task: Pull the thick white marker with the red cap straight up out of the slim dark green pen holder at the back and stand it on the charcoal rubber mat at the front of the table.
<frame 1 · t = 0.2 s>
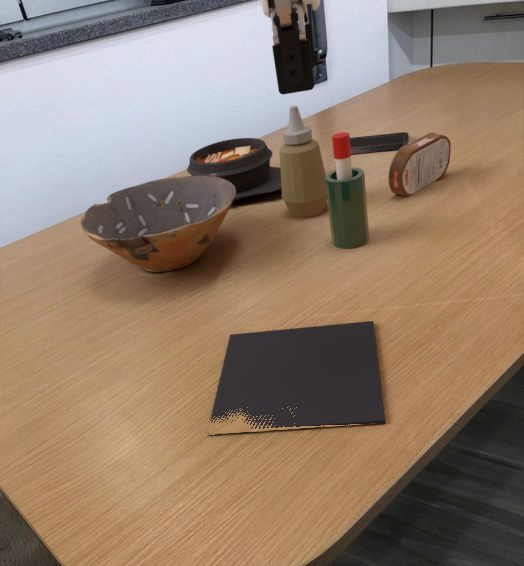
hand: (298, 79, 58), 29 cm above the table, tool pointing down, fingers open, 9 cm apart
squeeze bottle: (308, 214, 105), on the table
bowl: (174, 260, 99), on the table
pen holder: (351, 243, 92), on the table
mat: (298, 375, 68), on the table
phone: (372, 146, 129), on the table
tin: (421, 189, 106), on the table
marker: (350, 240, 92), point 1 cm above the table, touching pen holder
casserole: (236, 192, 121), on the table
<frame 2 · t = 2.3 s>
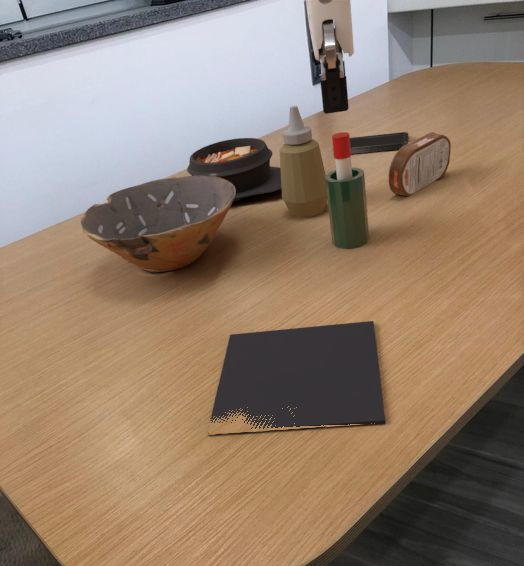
hand: (335, 102, 81), 21 cm above the table, tool pointing down, fingers open, 9 cm apart
nothing on the table moved.
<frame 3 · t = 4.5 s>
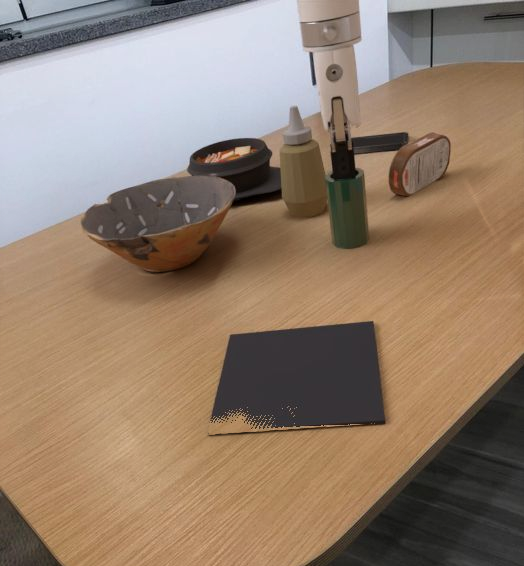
hand: (344, 173, 86), 11 cm above the table, tool pointing down, fingers closed on marker, 2 cm apart
marker: (350, 240, 92), point 1 cm above the table, touching gripper
everything else where it was.
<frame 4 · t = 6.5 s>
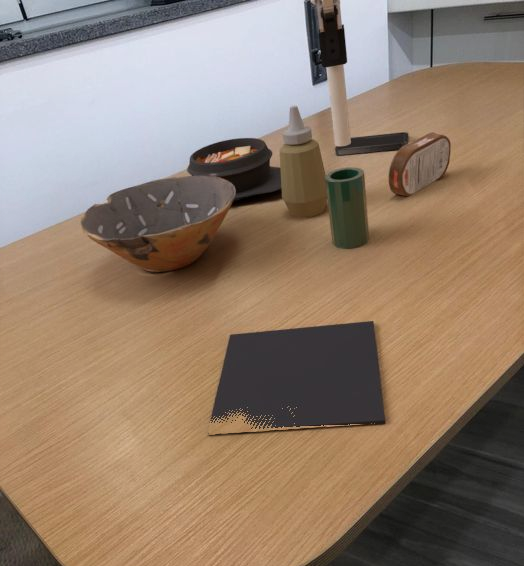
hand: (334, 61, 77), 26 cm above the table, tool pointing down, fingers closed on marker, 2 cm apart
marker: (343, 143, 83), point 15 cm above the table, touching gripper
everything else where it was.
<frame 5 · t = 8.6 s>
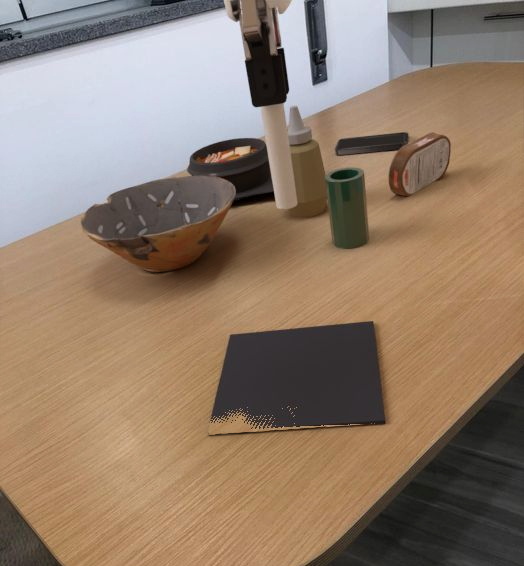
hand: (271, 98, 56), 28 cm above the table, tool pointing down, fingers closed on marker, 2 cm apart
marker: (287, 205, 62), point 18 cm above the table, touching gripper
everything else where it was.
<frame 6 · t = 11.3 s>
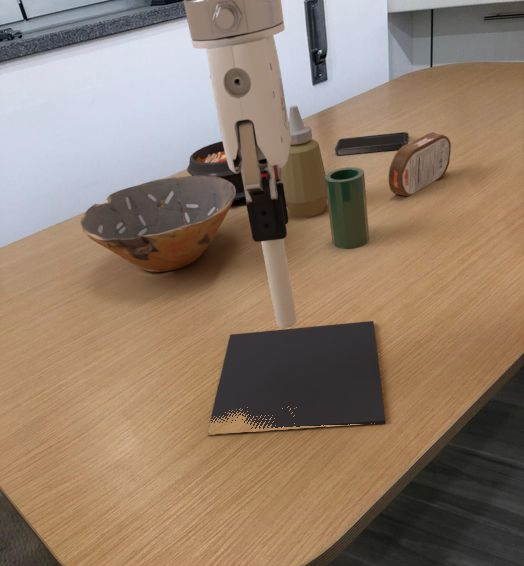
hand: (271, 230, 58), 18 cm above the table, tool pointing down, fingers closed on marker, 2 cm apart
marker: (286, 322, 64), point 7 cm above the table, touching gripper
everything else where it was.
when the fingers open (11 cm above the table, at t = 13.0 s): marker stays where it is, resting on mat.
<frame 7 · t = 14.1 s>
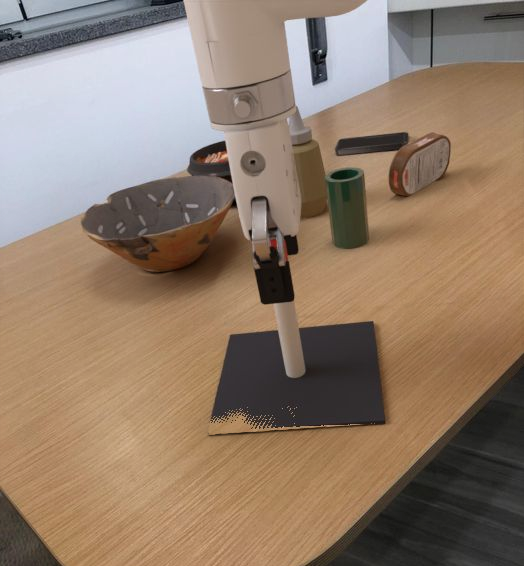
hand: (281, 276, 61), 13 cm above the table, tool pointing down, fingers open, 9 cm apart
marker: (295, 372, 67), resting on mat
everything else where it was.
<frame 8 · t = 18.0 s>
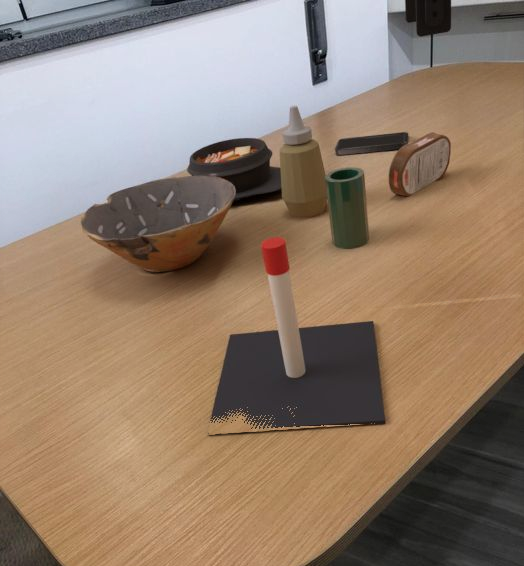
hand: (426, 26, 62), 30 cm above the table, tool pointing down, fingers open, 9 cm apart
nothing on the table moved.
at the end: marker inside the target area on the mat (0.2 cm from its centre), point 0.5 cm above the mat's base; the gripper is holding nothing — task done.
